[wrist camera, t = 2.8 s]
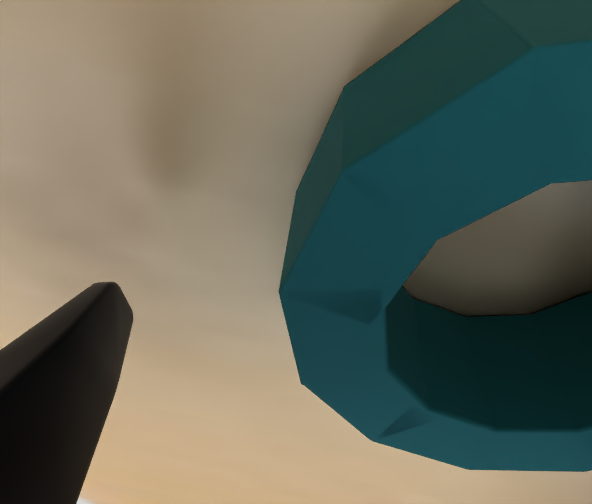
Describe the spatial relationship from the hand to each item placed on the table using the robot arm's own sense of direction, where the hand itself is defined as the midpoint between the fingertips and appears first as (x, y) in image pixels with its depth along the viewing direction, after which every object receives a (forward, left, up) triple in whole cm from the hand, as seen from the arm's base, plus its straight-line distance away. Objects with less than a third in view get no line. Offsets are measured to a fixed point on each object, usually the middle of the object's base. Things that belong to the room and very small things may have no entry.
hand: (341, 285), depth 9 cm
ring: (0, -4, -2) cm, 4 cm away
